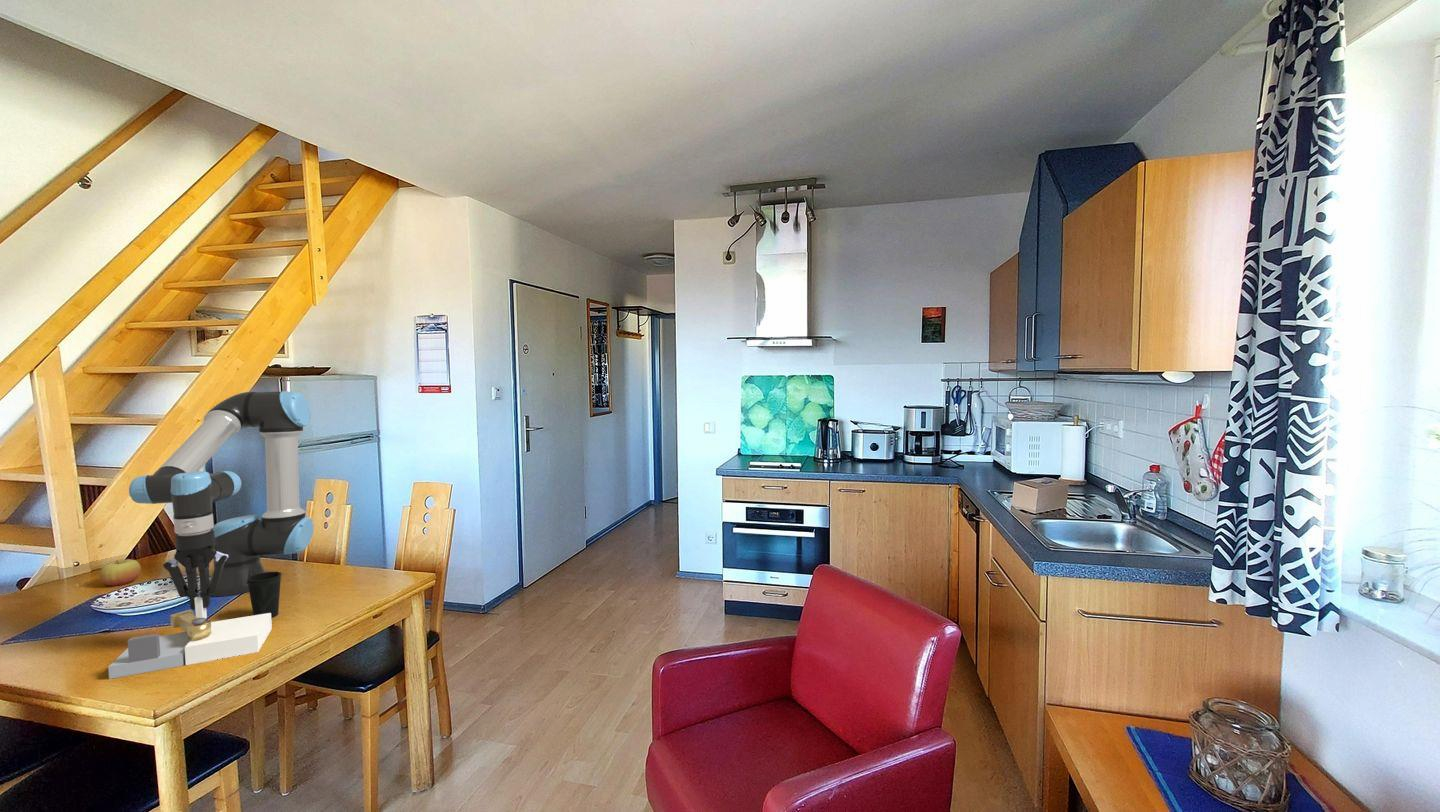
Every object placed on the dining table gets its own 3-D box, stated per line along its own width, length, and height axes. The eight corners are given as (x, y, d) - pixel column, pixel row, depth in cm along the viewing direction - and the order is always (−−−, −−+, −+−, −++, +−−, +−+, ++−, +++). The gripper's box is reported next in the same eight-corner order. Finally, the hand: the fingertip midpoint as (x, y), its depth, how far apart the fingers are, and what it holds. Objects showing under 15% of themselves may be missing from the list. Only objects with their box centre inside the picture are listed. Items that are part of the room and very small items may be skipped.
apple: (97, 584, 190) (95, 561, 190) (138, 575, 198) (136, 553, 198) (103, 591, 185) (101, 566, 184) (145, 581, 193) (143, 558, 192)
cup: (264, 623, 162) (261, 581, 161) (242, 620, 163) (240, 579, 162) (289, 611, 169) (287, 572, 168) (268, 609, 171) (266, 570, 170)
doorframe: (137, 650, 146) (135, 616, 145) (271, 628, 158) (270, 596, 158) (109, 679, 132) (106, 641, 132) (258, 652, 145) (256, 617, 144)
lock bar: (191, 641, 140) (190, 629, 140) (170, 626, 148) (169, 615, 148) (214, 634, 144) (213, 622, 144) (192, 620, 152) (191, 609, 152)
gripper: (155, 539, 141) (162, 631, 143) (221, 532, 147) (227, 620, 149) (168, 531, 148) (175, 619, 150) (231, 525, 154) (237, 609, 155)
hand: (201, 619), depth 149 cm, fingers closed
